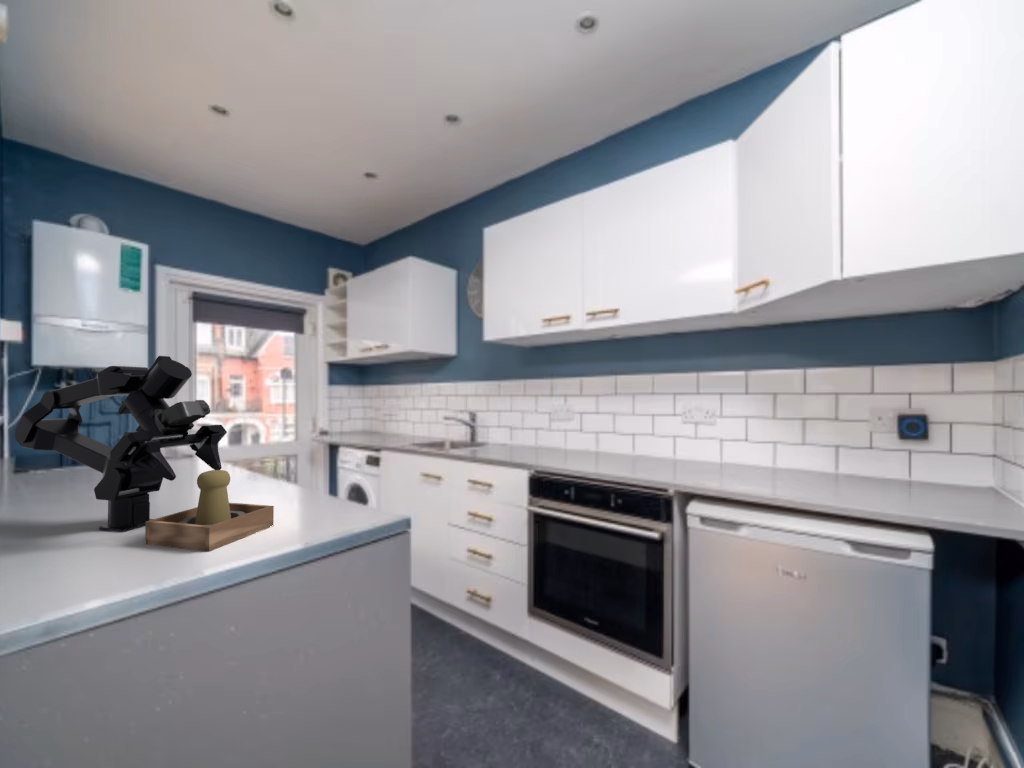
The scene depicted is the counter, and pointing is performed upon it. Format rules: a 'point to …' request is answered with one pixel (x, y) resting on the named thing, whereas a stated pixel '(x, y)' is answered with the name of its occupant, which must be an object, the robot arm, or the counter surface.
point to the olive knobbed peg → (213, 497)
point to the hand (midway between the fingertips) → (197, 474)
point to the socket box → (208, 528)
